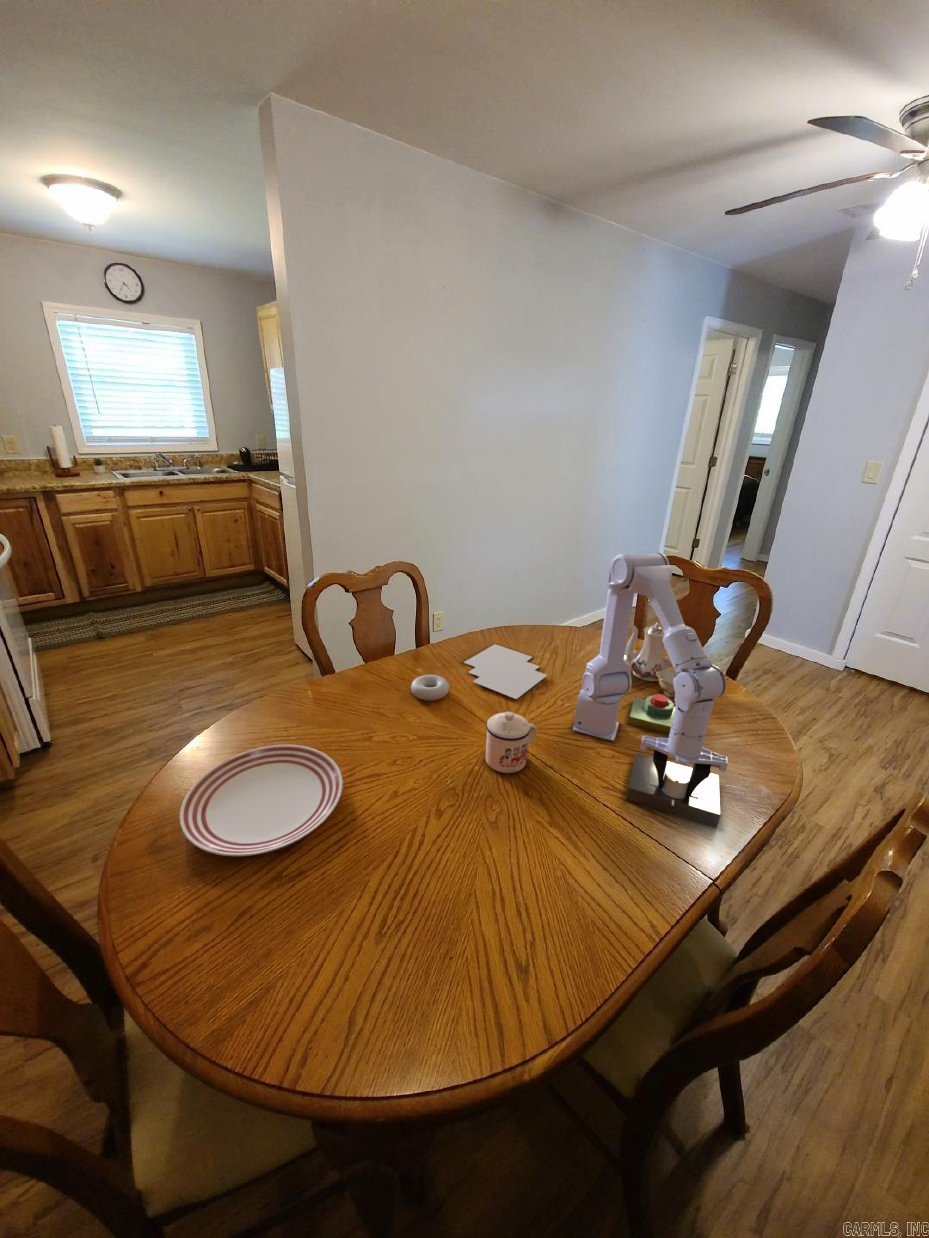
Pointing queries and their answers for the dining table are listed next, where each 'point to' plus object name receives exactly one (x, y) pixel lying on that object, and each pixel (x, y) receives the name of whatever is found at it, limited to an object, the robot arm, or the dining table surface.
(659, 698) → the button
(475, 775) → the dining table surface
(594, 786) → the dining table surface
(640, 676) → the chinaware
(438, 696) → the donut
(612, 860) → the dining table surface
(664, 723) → the block
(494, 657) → the paper stack
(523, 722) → the teacup with lid
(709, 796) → the hob panel
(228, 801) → the dinner plate
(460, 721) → the dining table surface
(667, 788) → the hob knob
